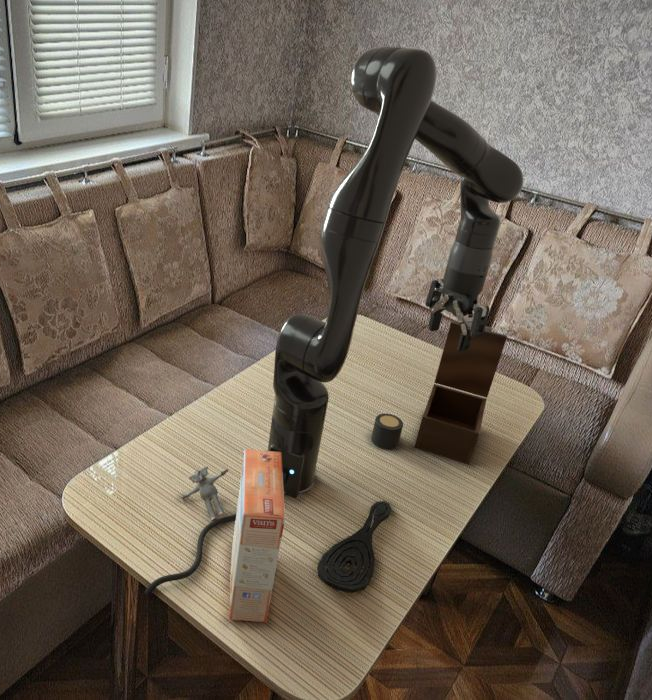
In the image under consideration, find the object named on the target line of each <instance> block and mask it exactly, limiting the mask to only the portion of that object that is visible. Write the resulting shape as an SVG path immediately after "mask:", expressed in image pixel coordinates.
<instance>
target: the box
mask: <svg viewBox="0 0 652 700" xmlns="http://www.w3.org/2000/svg"><path fill="white" fill-rule="evenodd" d="M486 404H487V398H486V397H483V396H479V395H476V394H472V393H469V392H465V391H462V390H458V389H455V388H451V387H448V386H444V385H441V384H437V383H434V384H433V386H432V389H431V391H430V394H429V397H428V400H427V402H426V406H425V408H424V410H423V414H422V417H421V420H420V424H419V427H418V432H417V436H416V438H415V443H414V446H413V447H414V449H418V450H421V451H425V452H428V453H431V454H434V455H437V456H440V457H443V458H447V459H450V460H453V461H456V462H459V463H461V464H464V465H465V464H466V465H469V466H470V463H471V461H472V457H473V455H474V451H475V448H476V446H477V442H478V440H479V436H480V433H481V427H482V423H483V419H484V413H485V410H486Z"/></svg>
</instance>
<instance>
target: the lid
mask: <svg viewBox="0 0 652 700" xmlns="http://www.w3.org/2000/svg"><path fill="white" fill-rule="evenodd" d="M467 327H468V328H469V325H468V323H467ZM478 327H479V326H478ZM492 330H493V327H490V326H487V325H486V326H485V330H484V334H483V335H480V336H475V337H472V341H471V344H470V347H469V349H467V350H466V351H461V352H460V351H458V350H457V346H458V342H459V339H460V335H461V334H462V329H461V325H460V324H459V323H458V322H455V321H450V324H449V328H448V332H447V335H446V339H445V344H444V346H443V349H442V353H441V357H440V361H439V365H438V368H437V372H436V375H435V379H434V384H436V385H440V386H443V387H447V388H450V389H454V390H457V391H461V392H464V393H468V394H471V395H475V396H478V397H482V398H485V399H487V398H488V396H489V393H490V391H491V388H492V385H493V381H494V378H495V375H496V372H497V369H498V365H499V363H500V360H501V358H502V355H503V350H504V348H505V345H506V342H507V339H508V335H507V334H504V333H499V332H495V331H492Z"/></svg>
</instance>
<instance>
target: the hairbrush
mask: <svg viewBox="0 0 652 700" xmlns="http://www.w3.org/2000/svg"><path fill="white" fill-rule="evenodd" d="M392 510H393V509H392V505H391V504H390V503H389V502H387V501H385V500H382V501H380V500H379V501H375V502H374V503H373V504H372V505H371V506H370V509H369V512H368V516H367V517H366V519H365V521H364V522H363V525H362V527H360V529H358V530H357V531H355V532H354V533H353V534H351V535H348V536H346V537H345V538H344V539H342V540H340V541H338V542H337V543H335V544H333V545H332V546H331V547H330V548H329V549H328V550H327V551H326V552H325V553H324V554H323V555H322V556H321V558H320V559H319V561H318V564H317V569H316V571H317V577H318V578H319V579H320V580H321V581H322V582H323V583H324V584H325V585H326V586H328V587H330V588H332V589H333V590H335V591H338V592H342V593H347V594H348V593H349V594H355V593H359V592H362V591H363V590H366V588H367V587H368V585H369V584H370V582H371V580H372V579H373V576H374V573H375V563H376V552H375V551H376V548H374V544H373V542H374V540H373V534H374V533H375V531H376V530H377V529H378V527H379V526H380V524H382V523H383V522H384V521H386V520H387V519H388V518H389V517H390V515H391V512H392ZM347 565H348V567H349V568H346V566H347Z"/></svg>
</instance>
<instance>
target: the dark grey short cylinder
mask: <svg viewBox="0 0 652 700" xmlns="http://www.w3.org/2000/svg"><path fill="white" fill-rule="evenodd" d="M403 427H404V422H403V421H402V418H400V417H398V415H395V414H391V413H380V414H378V415H376V416H375V419H374V423H373V427H372V433H371V437H370V440H371V443H372V444H373V445H374V446H375V447H378V448H380V449H382V450H395V449H396V448H397V447H398V446H399V444H400V443H399V442H400V439H401V435H402V431H403Z"/></svg>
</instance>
